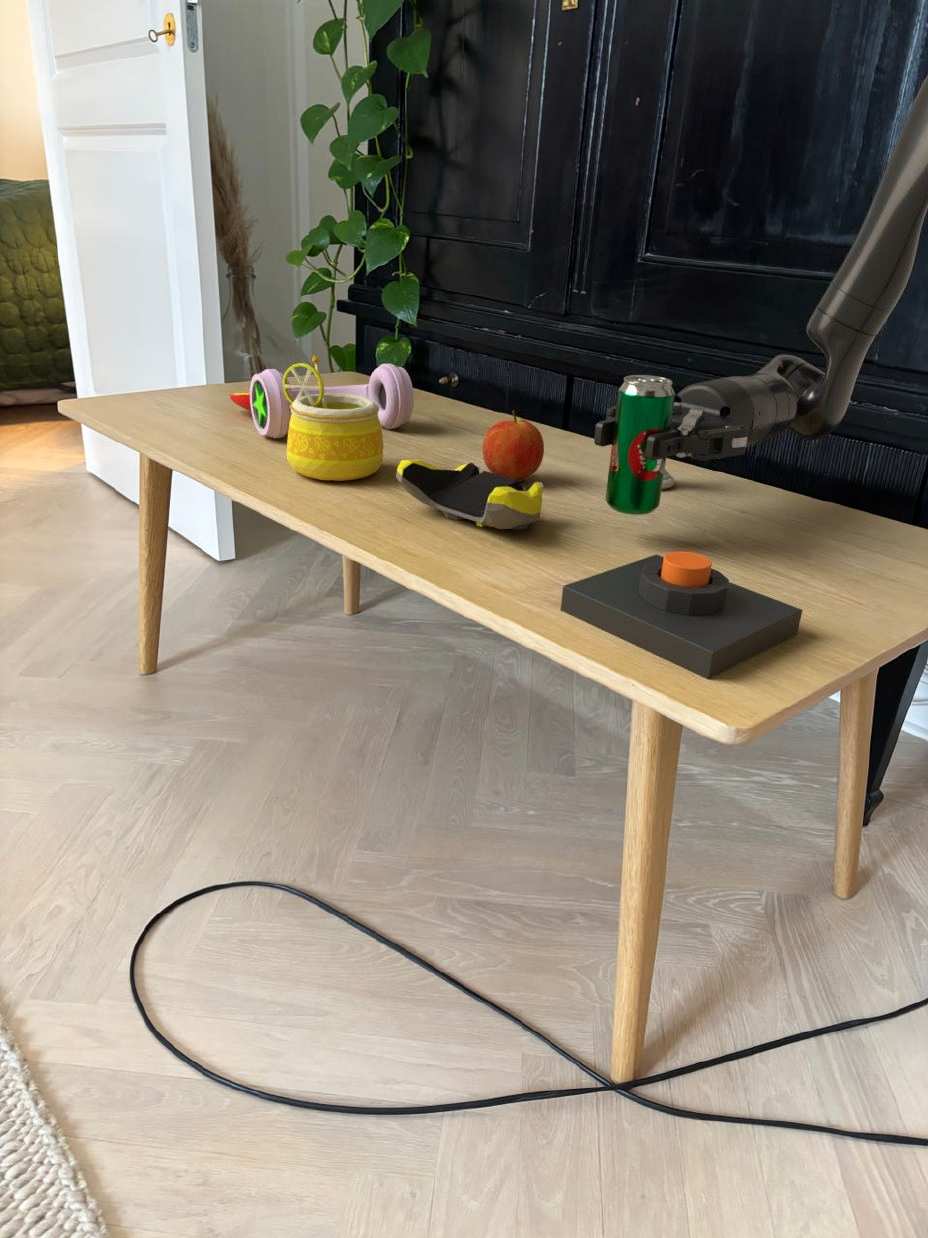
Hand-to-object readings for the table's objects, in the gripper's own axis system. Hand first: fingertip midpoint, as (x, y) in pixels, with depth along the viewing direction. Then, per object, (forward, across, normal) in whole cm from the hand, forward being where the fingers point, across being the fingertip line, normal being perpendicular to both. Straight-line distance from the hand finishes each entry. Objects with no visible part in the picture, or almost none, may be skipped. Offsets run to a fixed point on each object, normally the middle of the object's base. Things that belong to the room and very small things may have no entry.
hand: (624, 441), depth 82 cm
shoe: (+5, -13, +10) cm, 18 cm away
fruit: (-8, -21, +11) cm, 25 cm away
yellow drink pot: (+6, -35, +10) cm, 37 cm away
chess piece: (-21, -10, +11) cm, 26 cm away
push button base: (+9, +14, +10) cm, 19 cm away
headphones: (-6, -55, +11) cm, 56 cm away
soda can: (-3, 0, +7) cm, 7 cm away
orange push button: (+9, +13, +6) cm, 18 cm away
